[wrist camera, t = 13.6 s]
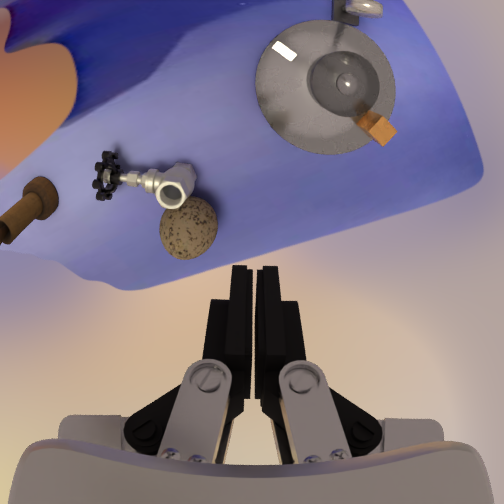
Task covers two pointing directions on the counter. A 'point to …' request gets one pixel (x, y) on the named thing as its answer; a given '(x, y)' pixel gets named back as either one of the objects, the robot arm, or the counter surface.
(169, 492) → the robot arm
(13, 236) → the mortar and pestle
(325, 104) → the cover
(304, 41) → the turntable
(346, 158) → the counter surface
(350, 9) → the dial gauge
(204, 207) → the decorative egg
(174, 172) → the valve
